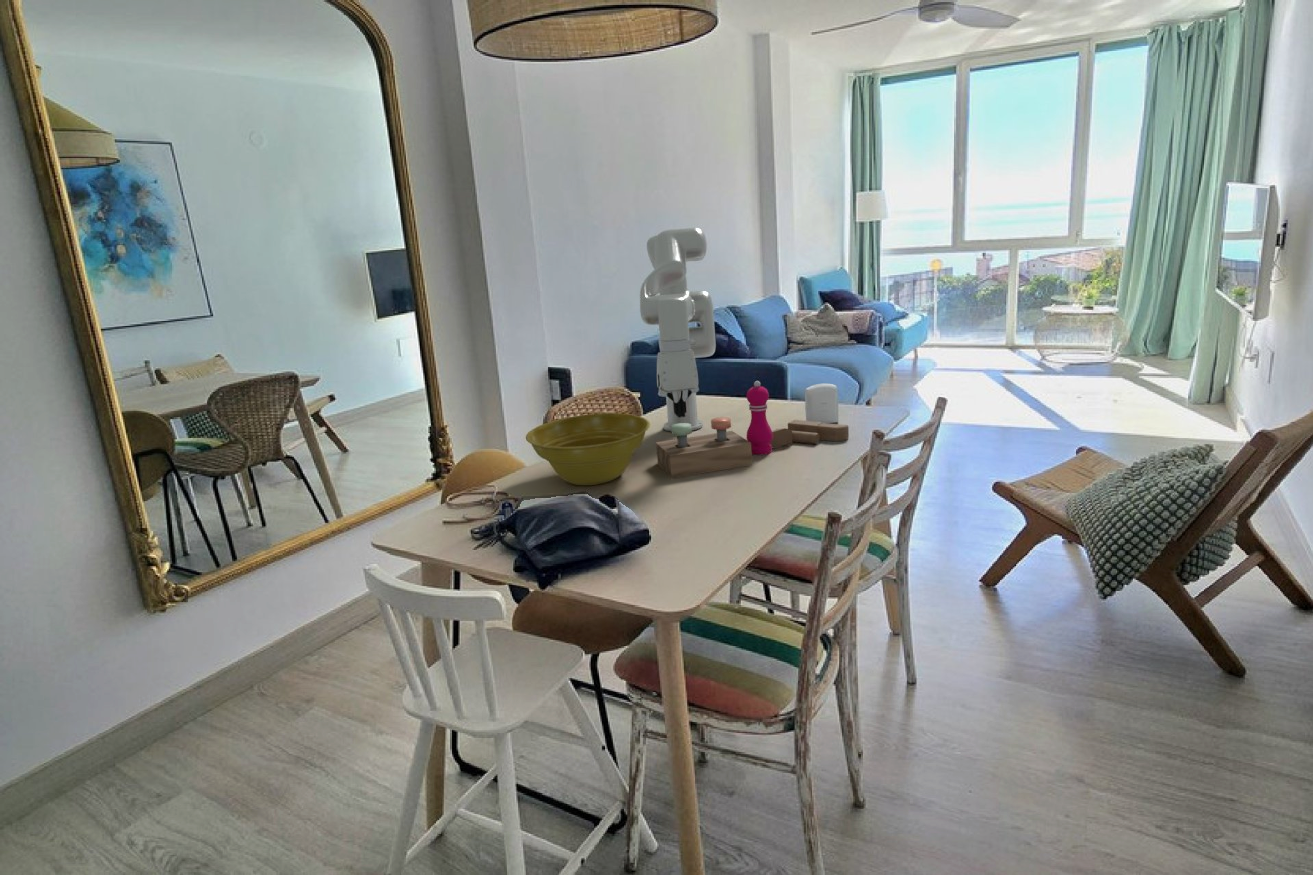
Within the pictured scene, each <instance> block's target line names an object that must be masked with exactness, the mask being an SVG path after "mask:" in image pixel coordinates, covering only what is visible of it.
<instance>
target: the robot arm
mask: <svg viewBox="0 0 1313 875" xmlns="http://www.w3.org/2000/svg"><path fill="white" fill-rule="evenodd" d="M707 244H708V243H707V238H706V235H705V232H704V231H703V230H702V229H701V228H699V227H687V228H674V229H667V230H663V231H661V232H659V233H658V234H657V235H656V234H655V235H654V236H651V237H649V238H648V240H647V242H646V251H647V255H648V258H649V261H650V263H651V265H652V267H653V271H651V272H650V273H649V274H648V275H647V277H645V279H644V281H643V283H642V284H641V287H640V291H639V312H640V317H641V320H642V321H643V323H644V324H646V325H648V326H655V325H658V332H659V337H658V346H659V352H657V356H656V385H657V386H656V387H657V388H658V393H657V395H658V396H659V397H663V398H666V399H665V400H666V410H667V412H666V413H667V421H666V422H665V423H663V429H664V430H665V431H668V432H671V433H672V428H671V426H672V425H674V424H678V423H689V424H691V430H692V431H695V430H699V429H701V428H703V427H704V422H703V420H700V419H699V418H698V403H697V393H698V392H699V391H700V388H699V375H698V368H697V363H696V362H697V361H696V358H707V357H711V356H713V355H714V354H715V352H716V347H717V344H716V330H715V318H714V317H715V316H714V303H713V300H712V299H713V298H712V297H711V295H710V293H709V292H708V291H706V290H692V291H691V290H688V287H687V286H688V283H687V282H688V281H687V263H688V262H698V261H702V260H704V258H705V256H706V253H707V249H708V246H707ZM686 262H687V263H686ZM658 294H659V295H658ZM689 323H697V324H698V325H699V326H689V325H690V324H689Z"/></svg>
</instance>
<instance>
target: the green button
mask: <svg viewBox="0 0 1313 875" xmlns="http://www.w3.org/2000/svg"><path fill="white" fill-rule="evenodd" d="M671 428H672V432H671V435H673V436H676V439H677V441H678V448H684V447H688V443H687V438H688V435H691V434H692V430H691V424H689V423H678V424H674V425H672V426H671Z"/></svg>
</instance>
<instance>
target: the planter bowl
mask: <svg viewBox="0 0 1313 875" xmlns="http://www.w3.org/2000/svg"><path fill="white" fill-rule="evenodd" d="M650 423H651V422H650V421H649V420H648V419H647V418H644V417H643V416H639V415H635V414H629V413H619V412H617V413H616V412H614V413H613V412H610V413H609V412H608V413H607V412H606V413H605V412H601V413H589V414H582V415H575V416H570V417H564V418H560V419H556V420H552V421H548V422H545V423H542V424H541V425H539V426H535V427H534V428H533V429H531V430H530V431H528V432H527V433H526V435H525V441H527V442H528V443H529V444H531V446H532V448H533V450H534V451H535V453H536V454H537V455H538V457H540V458H542V459H544V460H545V461H547V462H548V463H549V465H550V466H551V467H552V469H553V470H554V471H555V473H556V474H557V475H558V477H560V478H561V479H562V480H563V481H565V482H567V483H569V484H572V485H577V486H594V485H601V484H605V483H608V482H611V481H614V480H615V479H617V478H618V477H619V476H621V475H622V474H623V473H624V472H625V471H626V469H627V467H628V465H629V463H630V460H631V458H632V455H633V452H634V451H635V450H637V448H639V447H640V446H641V445H642V443H643V441H644V438H645V435H646V431H648V430H649V428H650V427H651V424H650Z"/></svg>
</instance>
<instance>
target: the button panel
mask: <svg viewBox="0 0 1313 875" xmlns="http://www.w3.org/2000/svg"><path fill="white" fill-rule="evenodd" d="M726 434H727V441H723V442H717V432H716V433H710V434H709V433H708V434H702V435H695V436H690V437H689V436H687V443H688V447H684V448H678V441H677V438H674V439H669V440H662V441H656V442H655V447H656V449H655V450H656V460H657V464H658V465H659V467H661V468H662V469H663V471H664V472H666V474H668V476H669V477H670V478H671V479H674V478H680V477H686V476H692V475H697V474H698V475H699V474H703V473H704V474H706V473H710V472H717V471H724V470H729V469H736V468H741V467H748V466H752V465H753V459H752V458H753V457H752V455H753V454H752V453H751V443H750V442H749V441H747V438H744V437H742V436H741V435H740V434H737V433H736V432H735V431H733V430H728V431H727V430H726Z"/></svg>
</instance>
